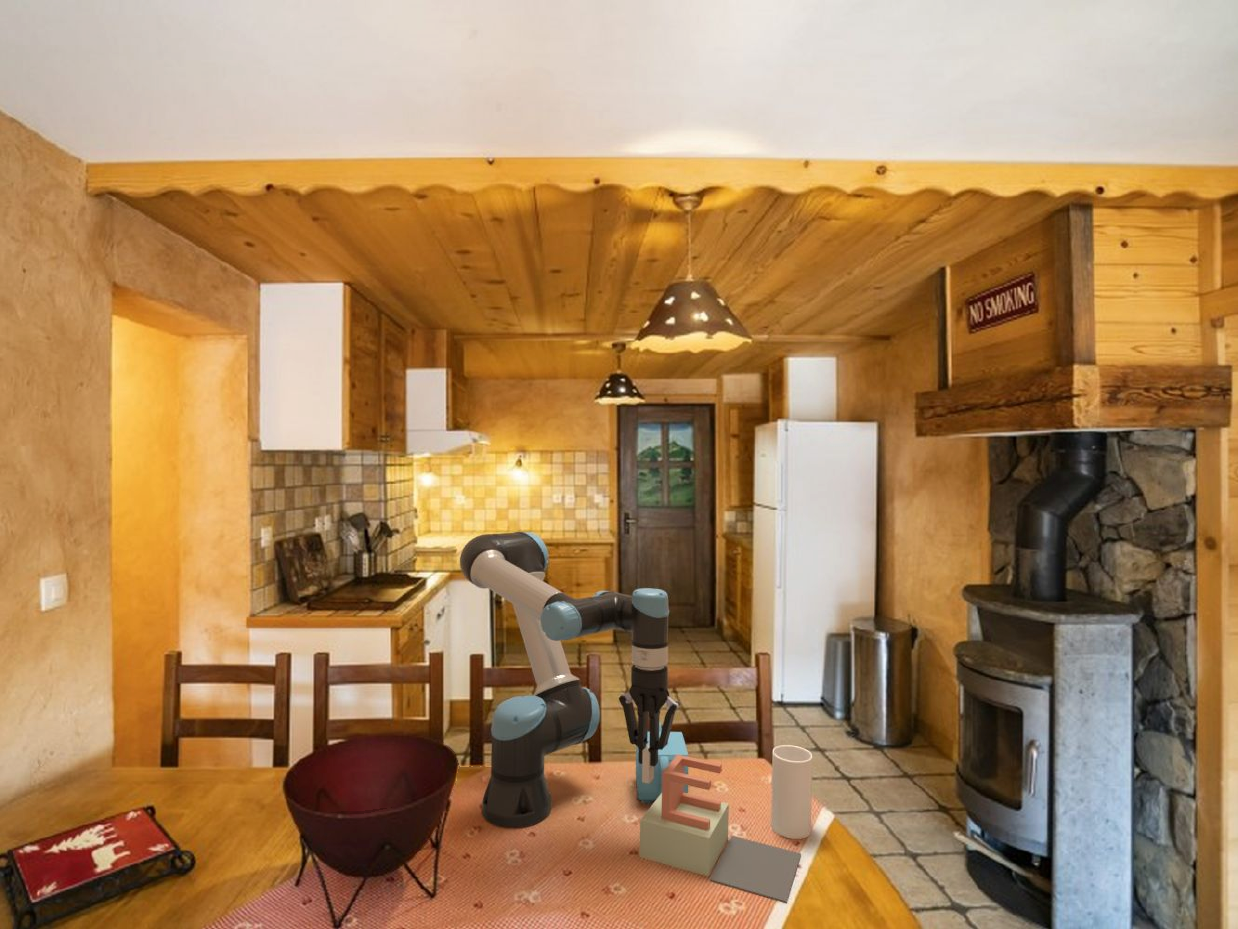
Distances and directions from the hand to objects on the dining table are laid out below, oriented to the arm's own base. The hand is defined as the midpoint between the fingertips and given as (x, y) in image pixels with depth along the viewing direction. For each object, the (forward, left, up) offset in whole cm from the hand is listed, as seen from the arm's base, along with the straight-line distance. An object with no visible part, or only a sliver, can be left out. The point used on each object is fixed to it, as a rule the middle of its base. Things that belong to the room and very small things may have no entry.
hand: (647, 780), depth 134 cm
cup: (+26, +17, -12) cm, 34 cm away
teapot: (-5, +20, -12) cm, 24 cm away
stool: (+9, 0, -5) cm, 11 cm away
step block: (+8, 0, -12) cm, 14 cm away
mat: (+23, 0, -12) cm, 26 cm away
